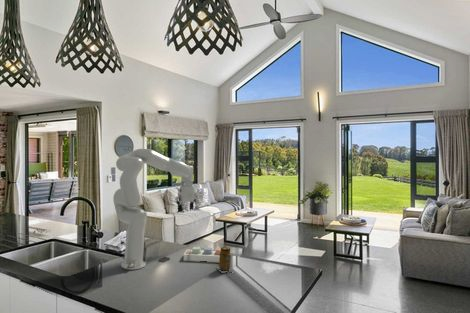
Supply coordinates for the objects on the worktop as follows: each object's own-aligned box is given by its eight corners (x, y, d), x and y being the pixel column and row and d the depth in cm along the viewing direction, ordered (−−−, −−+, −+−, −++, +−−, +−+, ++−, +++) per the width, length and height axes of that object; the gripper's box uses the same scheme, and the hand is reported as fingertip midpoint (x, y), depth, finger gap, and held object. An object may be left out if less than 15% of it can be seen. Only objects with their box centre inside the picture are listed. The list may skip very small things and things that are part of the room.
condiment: (228, 267, 167) (229, 246, 167) (233, 272, 159) (234, 250, 159) (216, 268, 165) (217, 246, 165) (220, 274, 157) (221, 251, 157)
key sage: (199, 255, 177) (199, 249, 177) (192, 254, 177) (192, 249, 177) (200, 252, 181) (200, 247, 181) (193, 252, 181) (193, 246, 181)
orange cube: (222, 256, 177) (223, 250, 177) (215, 256, 177) (215, 250, 177) (223, 254, 181) (223, 248, 181) (215, 253, 181) (216, 247, 181)
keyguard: (226, 262, 174) (226, 255, 174) (183, 260, 174) (183, 253, 174) (227, 257, 184) (227, 250, 184) (186, 255, 184) (186, 248, 184)
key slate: (211, 255, 177) (211, 250, 177) (203, 255, 177) (204, 249, 177) (211, 253, 181) (212, 247, 181) (204, 253, 181) (204, 247, 181)
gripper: (179, 185, 185) (178, 212, 185) (200, 184, 198) (199, 209, 198) (172, 184, 191) (171, 210, 191) (193, 183, 203) (192, 208, 203)
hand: (185, 210), depth 194 cm, fingers open, 9 cm apart
